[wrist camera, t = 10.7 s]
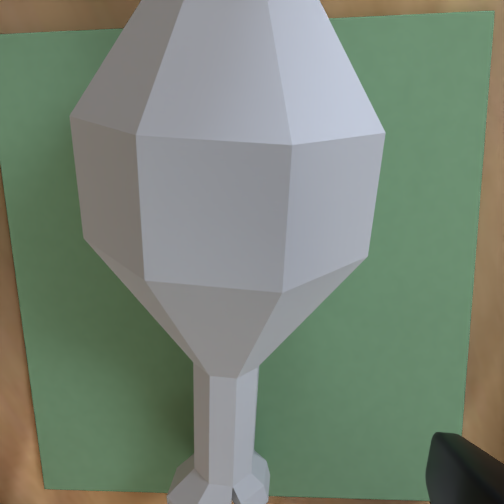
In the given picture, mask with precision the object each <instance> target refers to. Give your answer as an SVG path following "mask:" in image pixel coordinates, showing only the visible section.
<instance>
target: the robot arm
mask: <svg viewBox="0 0 504 504" xmlns="http://www.w3.org/2000/svg"><path fill="white" fill-rule="evenodd" d="M425 480H426V487H427V491H428V495H429V499H430V503H431V504H504V464H503V463H501V462H500V461H498V460H497V459H495V458H494V457H492V456H491V455H489V454H488V453H486V452H484V451H483V450H481V449H480V448H478V447H477V446H475V445H474V444H472V443H471V442H469V441H468V440H466V439H465V438H463V437H462V436H460V435H458V434H455V433H446V432H436V433H435V434H434V435H433V437H432V439H431V444H430V450H429V455H428V460H427V466H426V472H425Z"/></svg>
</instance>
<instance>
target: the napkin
mask: <svg viewBox="0 0 504 504" xmlns="http://www.w3.org/2000/svg"><path fill="white" fill-rule="evenodd" d="M494 13H495V11H475V12H454V13H434V14H413V15H392V16H371V17H350V18H330V19H329V20H330V22H331V24H332V26H333V28H334V30H335V32H336V34H337V36H338V38H339V40H340V42H341V44H342V46H343V48H344V50H345V52H346V54H347V56H348V58H349V61H350V63H351V65H352V67H353V69H354V71H355V73H356V75H357V77H358V79H359V81H360V83H361V85H362V87H363V89H364V91H365V93H366V95H367V97H368V99H369V101H370V103H371V105H372V107H373V109H374V111H375V113H376V115H377V117H378V119H379V121H380V123H381V125H382V127H383V129H384V131H385V133H386V134H385V141H384V148H383V154H382V161H381V168H380V175H379V182H378V189H377V196H376V203H375V210H374V217H373V224H372V231H371V238H370V245H369V252H368V257H367V258H366V259H365V260H364V261H363V262H362V263H361V264H360V265H359V266H358V267H357V268H356V269H355V270H354V271H353V272H352V273H351V274H350V275H349V276H348V277H347V278H346V279H345V280H344V281H343V282H342V283H341V284H340V285H339V286H338V287H337V288H336V289H335V290H334V291H333V292H332V293H331V294H330V295H329V296H328V297H327V298H326V299H325V300H324V301H323V302H322V303H321V304H320V305H319V306H318V307H317V308H316V309H315V310H314V311H313V312H312V313H311V314H310V315H309V316H308V317H307V318H306V319H305V320H304V321H303V322H302V323H301V324H300V325H299V326H298V327H297V328H296V329H295V330H294V331H293V332H292V333H291V334H290V335H289V336H288V337H287V338H286V339H285V340H284V341H283V342H282V343H281V344H280V345H279V346H278V347H277V348H276V349H275V350H274V351H273V352H272V353H271V354H270V355H269V356H268V357H267V358H266V359H265V360H264V361H263V362H262V363H261V364H260V365H259V377H258V393H257V410H256V426H255V442H254V450H255V451H256V452H257V453H258V454H259V455H260V456H262V457H263V458H264V459H265V460H266V461H267V465H268V468H269V472H270V484H269V496H285V497H318V498H350V499H383V500H415V501H430V499H429V495H428V491H427V487H426V480H425V472H426V466H427V460H428V455H429V450H430V444H431V439H432V437H433V435H434V434H435V433H436V432H446V433H455V434H458V435H460V436H462V424H463V411H464V398H465V385H466V372H467V360H468V347H469V334H470V321H471V308H472V295H473V283H474V270H475V257H476V244H477V231H478V219H479V206H480V193H481V180H482V167H483V154H484V142H485V129H486V116H487V103H488V90H489V77H490V65H491V52H492V39H493V26H494ZM123 29H124V28H121V29H101V30H80V31H59V32H38V33H17V34H0V165H1V172H2V179H3V187H4V194H5V201H6V209H7V216H8V223H9V231H10V238H11V245H12V253H13V260H14V268H15V275H16V282H17V290H18V297H19V304H20V312H21V319H22V326H23V334H24V341H25V348H26V356H27V363H28V370H29V378H30V385H31V392H32V400H33V407H34V414H35V422H36V429H37V436H38V444H39V451H40V458H41V466H42V473H43V480H44V488H45V489H57V490H89V491H122V492H155V493H168V491H169V488H170V486H171V483H172V480H173V477H174V475H175V472H176V469H177V467H178V466H180V465H181V464H182V463H183V462H184V461H186V460H187V459H188V458H189V457H190V456H191V455H193V454H194V382H193V361H192V360H191V359H190V358H189V357H188V356H187V355H186V354H185V352H184V351H183V350H182V349H181V348H180V347H179V346H178V345H177V343H176V342H175V341H174V340H173V339H172V338H171V337H170V335H169V334H168V333H167V332H166V331H165V330H164V329H163V328H162V326H161V325H160V324H159V323H158V322H157V321H156V320H155V319H154V317H153V316H152V315H151V314H150V313H149V312H148V311H147V309H146V308H145V307H144V306H143V305H142V304H141V303H140V302H139V300H138V299H137V298H136V297H135V296H134V295H133V294H132V293H131V291H130V290H129V289H128V288H127V287H126V286H125V285H124V283H123V282H122V281H121V280H120V279H119V278H118V277H117V276H116V274H115V273H114V272H113V271H112V270H111V269H110V268H109V267H108V265H107V264H106V263H105V262H104V261H103V260H102V259H101V257H100V256H99V255H98V254H97V253H96V252H95V251H94V250H93V248H92V247H91V246H90V245H89V244H88V243H87V242H86V241H85V239H84V238H83V230H82V221H81V212H80V204H79V195H78V186H77V178H76V169H75V160H74V152H73V143H72V134H71V125H70V117H69V116H70V114H71V112H72V111H73V109H74V108H75V106H76V104H77V103H78V101H79V100H80V98H81V96H82V95H83V93H84V92H85V90H86V88H87V87H88V85H89V84H90V82H91V80H92V79H93V77H94V75H95V74H96V72H97V71H98V69H99V67H100V66H101V64H102V63H103V61H104V59H105V58H106V56H107V55H108V53H109V51H110V50H111V48H112V47H113V45H114V43H115V42H116V40H117V38H118V37H119V35H120V34H121V32H122V30H123Z"/></svg>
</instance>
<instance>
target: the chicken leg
mask: <svg viewBox="0 0 504 504" xmlns="http://www.w3.org/2000/svg"><path fill="white" fill-rule="evenodd" d="M69 117H70V125H71V134H72V143H73V152H74V160H75V169H76V178H77V186H78V195H79V204H80V212H81V221H82V230H83V238H84V239H85V241H86V242H87V243H88V244H89V245H90V246H91V247H92V248H93V250H94V251H95V252H96V253H97V254H98V255H99V256H100V257H101V259H102V260H103V261H104V262H105V263H106V264H107V265H108V267H109V268H110V269H111V270H112V271H113V272H114V273H115V274H116V276H117V277H118V278H119V279H120V280H121V281H122V282H123V283H124V285H125V286H126V287H127V288H128V289H129V290H130V291H131V293H132V294H133V295H134V296H135V297H136V298H137V299H138V300H139V302H140V303H141V304H142V305H143V306H144V307H145V308H146V309H147V311H148V312H149V313H150V314H151V315H152V316H153V317H154V319H155V320H156V321H157V322H158V323H159V324H160V325H161V326H162V328H163V329H164V330H165V331H166V332H167V333H168V334H169V335H170V337H171V338H172V339H173V340H174V341H175V342H176V343H177V345H178V346H179V347H180V348H181V349H182V350H183V351H184V352H185V354H186V355H187V356H188V357H189V358H190V359H191V360H192V361H193V382H194V454H193V455H191V456H190V457H189V458H188V459H187V460H186V461H184V462H183V463H182V464H181V465H180V466H178V467H177V469H176V472H175V475H174V477H173V480H172V483H171V486H170V488H169V491H168V494H167V504H231V499H232V501H233V502H234V504H266V503H267V502H268V496H269V484H270V472H269V468H268V465H267V461H266V460H265V459H264V458H263V457H262V456H260V455H259V454H258V453H257V452H256V451H255V450H254V442H255V426H256V410H257V393H258V377H259V365H260V364H261V363H262V362H263V361H264V360H265V359H266V358H267V357H268V356H269V355H270V354H271V353H272V352H273V351H274V350H275V349H276V348H277V347H278V346H279V345H280V344H281V343H282V342H283V341H284V340H285V339H286V338H287V337H288V336H289V335H290V334H291V333H292V332H293V331H294V330H295V329H296V328H297V327H298V326H299V325H300V324H301V323H302V322H303V321H304V320H305V319H306V318H307V317H308V316H309V315H310V314H311V313H312V312H313V311H314V310H315V309H316V308H317V307H318V306H319V305H320V304H321V303H322V302H323V301H324V300H325V299H326V298H327V297H328V296H329V295H330V294H331V293H332V292H333V291H334V290H335V289H336V288H337V287H338V286H339V285H340V284H341V283H342V282H343V281H344V280H345V279H346V278H347V277H348V276H349V275H350V274H351V273H352V272H353V271H354V270H355V269H356V268H357V267H358V266H359V265H360V264H361V263H362V262H363V261H364V260H365V259H366V258H367V257H368V252H369V245H370V238H371V231H372V224H373V217H374V210H375V203H376V196H377V189H378V182H379V175H380V168H381V161H382V154H383V148H384V141H385V134H386V133H385V131H384V129H383V127H382V125H381V123H380V121H379V119H378V117H377V115H376V113H375V111H374V109H373V107H372V105H371V103H370V101H369V99H368V97H367V95H366V93H365V91H364V89H363V87H362V85H361V83H360V81H359V79H358V77H357V75H356V73H355V71H354V69H353V67H352V65H351V63H350V61H349V58H348V56H347V54H346V52H345V50H344V48H343V46H342V44H341V42H340V40H339V38H338V36H337V34H336V32H335V30H334V28H333V26H332V24H331V22H330V20H329V18H328V16H327V14H326V12H325V10H324V8H323V6H322V4H321V2H320V0H141V1H140V3H139V5H138V6H137V8H136V10H135V11H134V13H133V14H132V16H131V18H130V19H129V21H128V22H127V24H126V26H125V27H124V29H123V30H122V32H121V34H120V35H119V37H118V38H117V40H116V42H115V43H114V45H113V47H112V48H111V50H110V51H109V53H108V55H107V56H106V58H105V59H104V61H103V63H102V64H101V66H100V67H99V69H98V71H97V72H96V74H95V75H94V77H93V79H92V80H91V82H90V84H89V85H88V87H87V88H86V90H85V92H84V93H83V95H82V96H81V98H80V100H79V101H78V103H77V104H76V106H75V108H74V109H73V111H72V112H71V114H70V116H69Z"/></svg>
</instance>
